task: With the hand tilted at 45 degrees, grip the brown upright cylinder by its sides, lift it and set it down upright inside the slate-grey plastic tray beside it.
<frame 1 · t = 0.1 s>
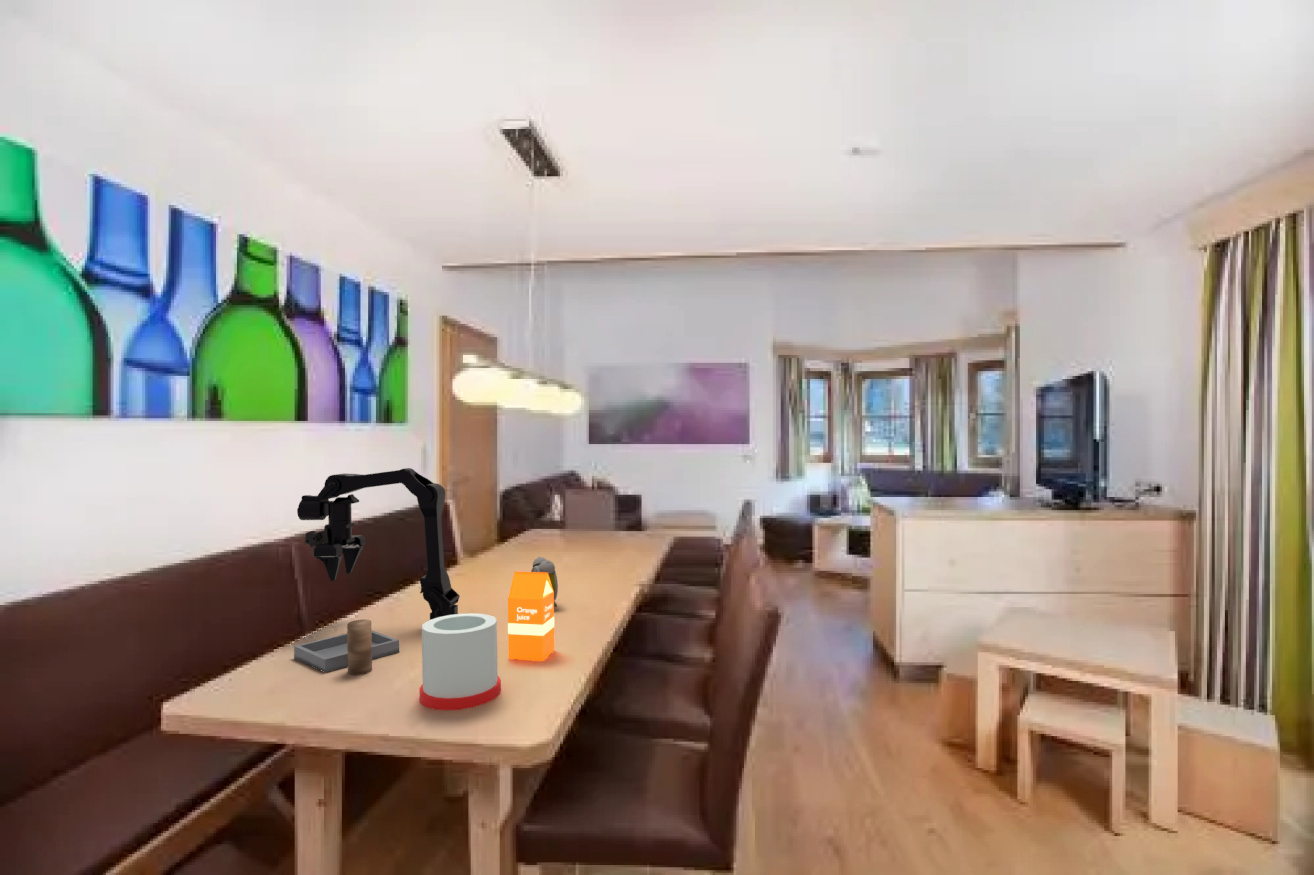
hand: (340, 576, 185), 15 cm above the table, tool pointing down, fingers open, 9 cm apart
orange juice: (531, 655, 162), on the table
tray: (347, 655, 164), on the table
brown upright cylinder: (360, 671, 153), on the table
container: (460, 695, 138), on the table
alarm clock: (546, 608, 206), on the table
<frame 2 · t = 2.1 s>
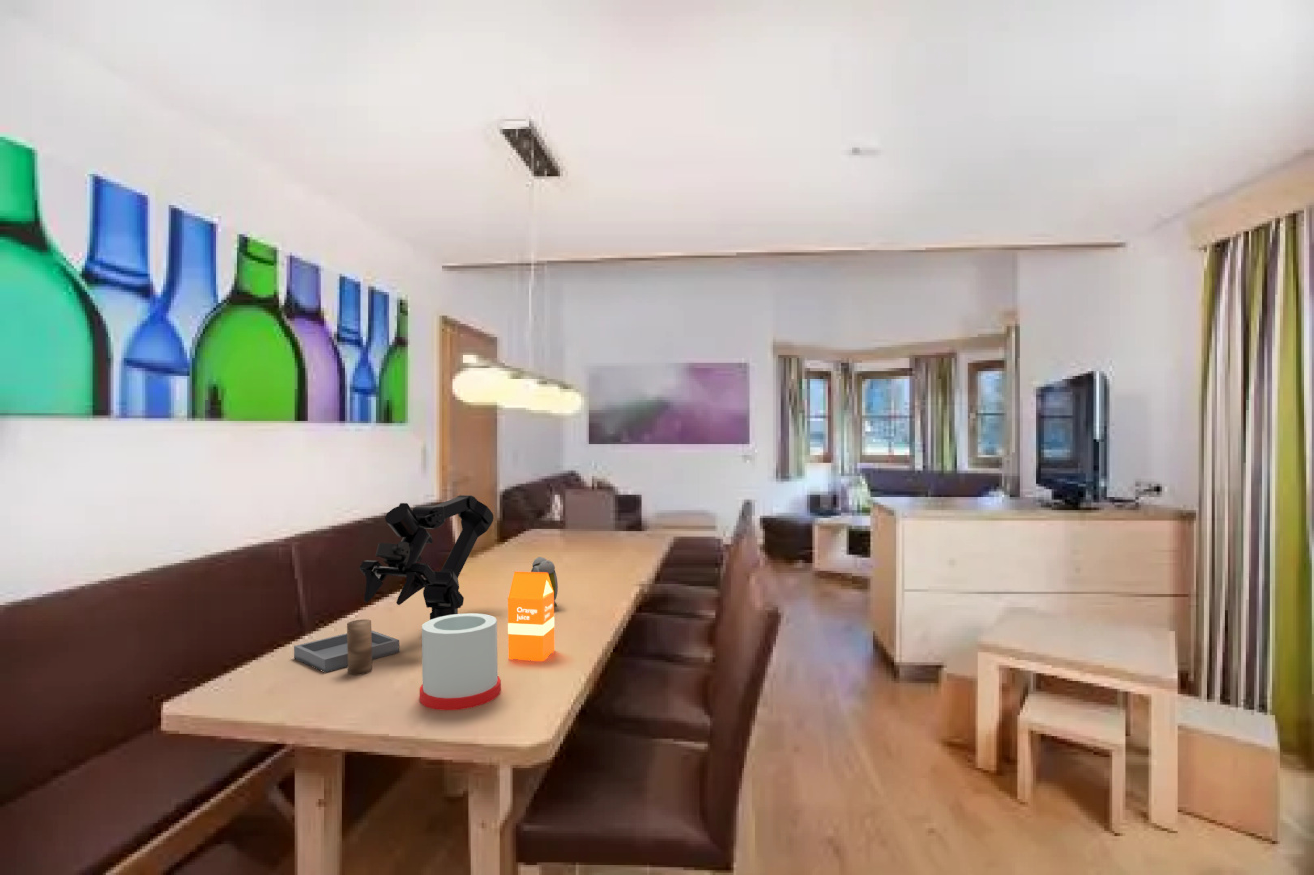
hand: (381, 602, 160), 13 cm above the table, tool tilted 45°, fingers open, 9 cm apart
nothing on the table moved.
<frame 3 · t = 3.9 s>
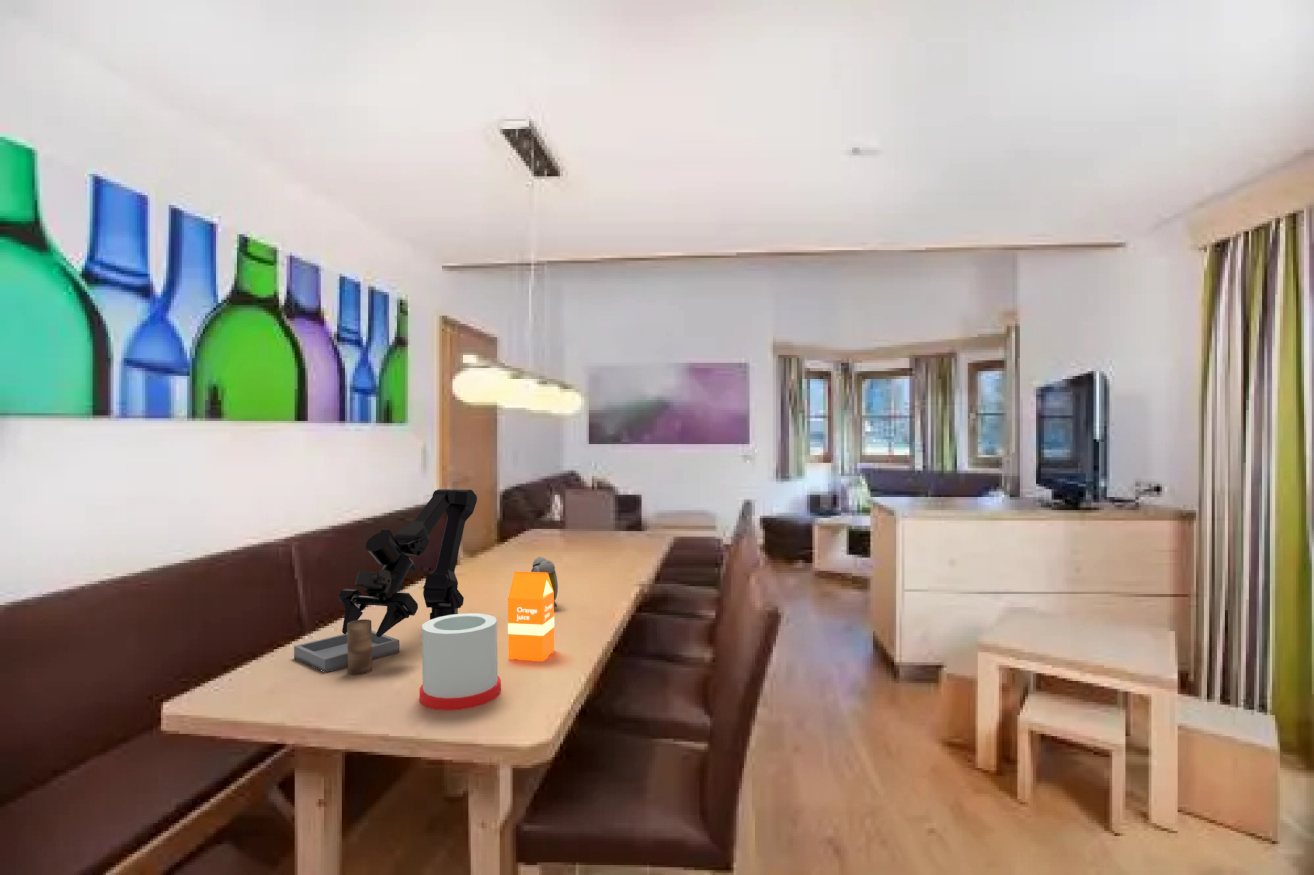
hand: (360, 634, 153), 8 cm above the table, tool tilted 45°, fingers open, 9 cm apart
nothing on the table moved.
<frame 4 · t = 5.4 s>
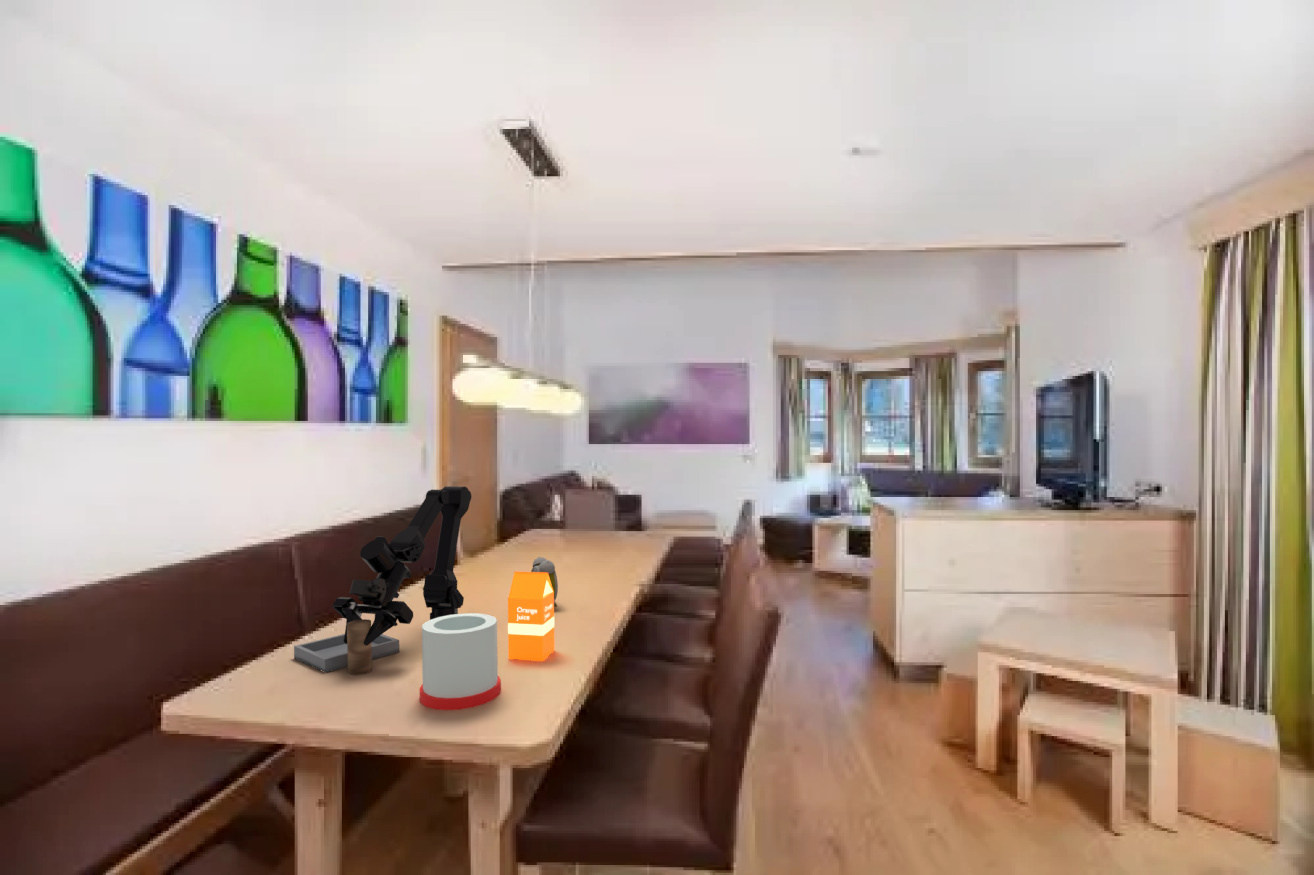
hand: (355, 643, 151), 7 cm above the table, tool tilted 45°, fingers closed on brown upright cylinder, 5 cm apart
brown upright cylinder: (360, 671, 153), on the table, touching gripper
everything else where it was.
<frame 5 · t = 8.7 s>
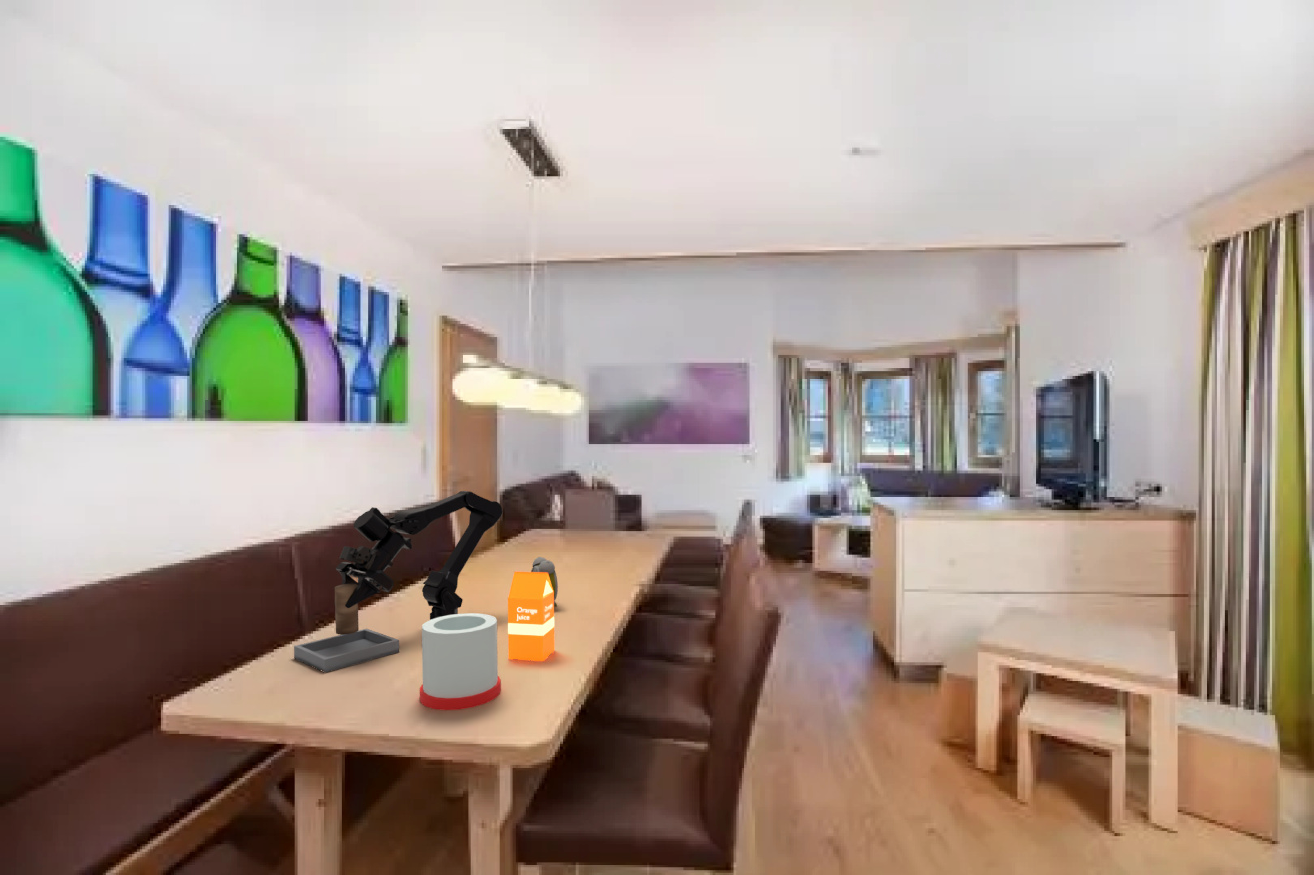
hand: (341, 605, 162), 12 cm above the table, tool tilted 45°, fingers closed on brown upright cylinder, 5 cm apart
brown upright cylinder: (347, 631, 164), point 6 cm above the table, touching gripper
everything else where it was.
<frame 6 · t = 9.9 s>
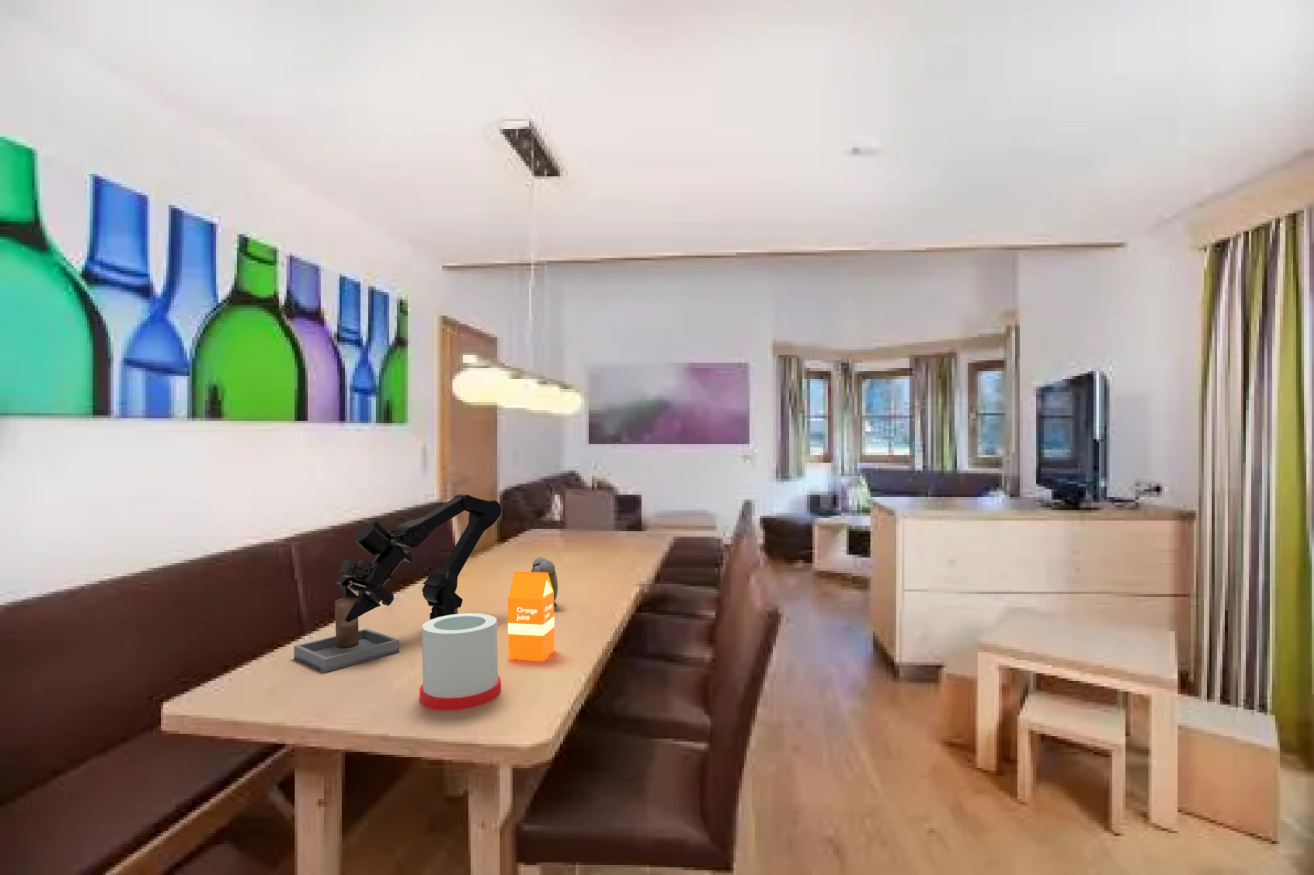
hand: (341, 619, 163), 9 cm above the table, tool tilted 45°, fingers closed on brown upright cylinder, 5 cm apart
brown upright cylinder: (347, 645, 164), point 2 cm above the table, touching gripper
everything else where it was.
when the fingers open (9 cm above the table, at t = 10.2 s): brown upright cylinder drops 2 cm, resting on tray.
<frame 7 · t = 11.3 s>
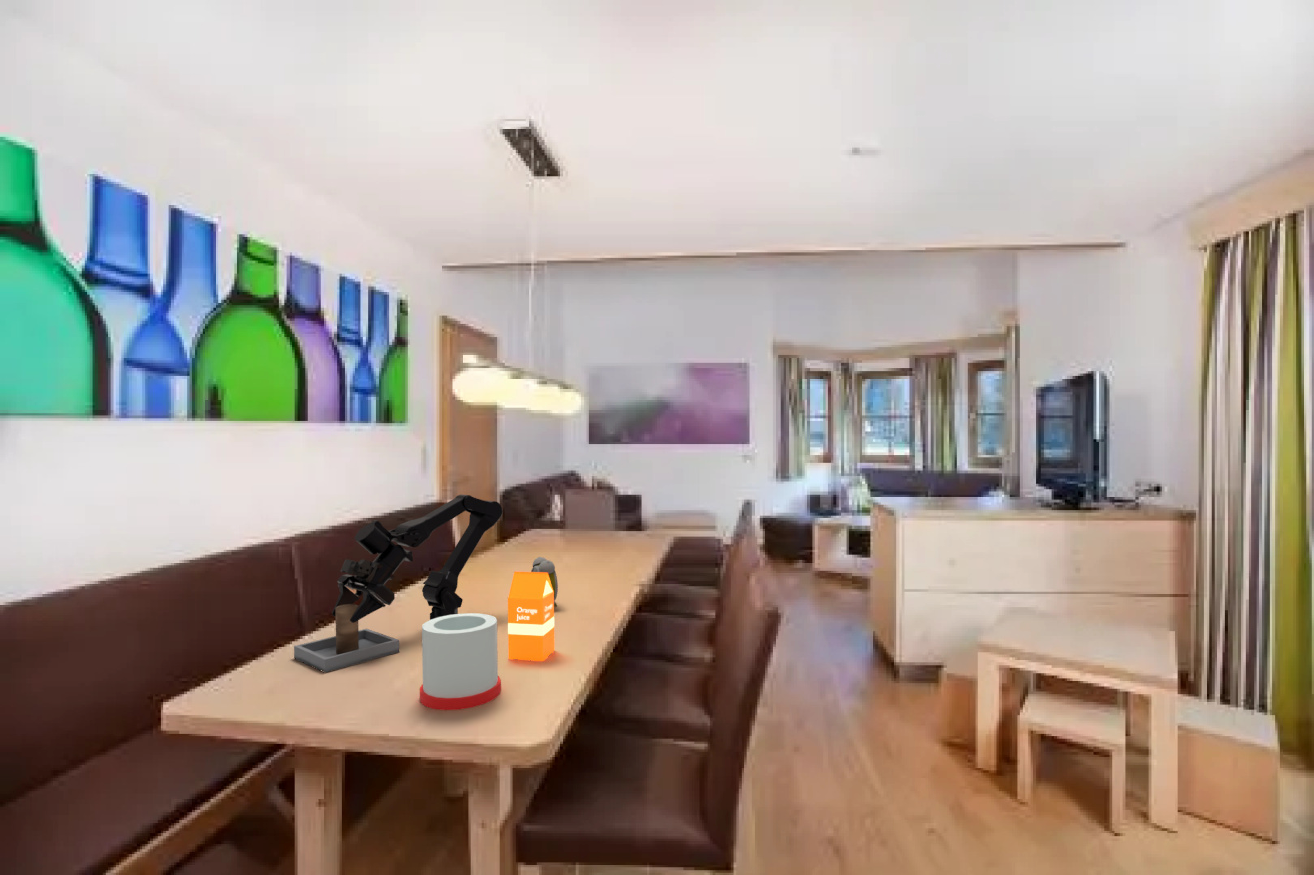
hand: (342, 618, 163), 9 cm above the table, tool tilted 45°, fingers open, 9 cm apart
brown upright cylinder: (347, 651, 164), point 1 cm above the table, touching tray
everything else where it was.
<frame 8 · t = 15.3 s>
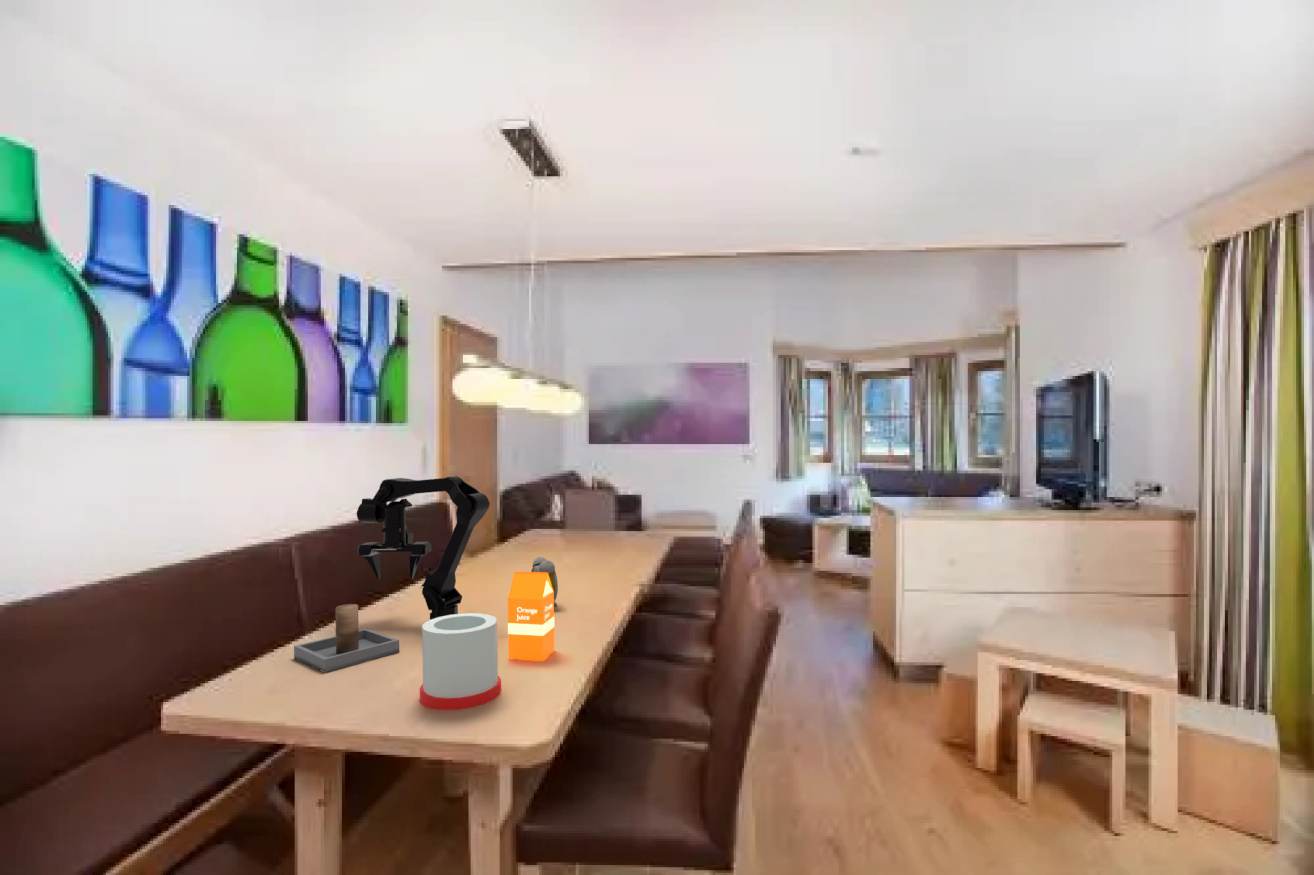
hand: (395, 579, 189), 13 cm above the table, tool pointing down, fingers open, 9 cm apart
nothing on the table moved.
at the end: brown upright cylinder inside the target area on the tray (0.0 cm from its centre), point 0.8 cm above the tray's base; brown upright cylinder tilted 0°; the gripper is holding nothing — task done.
